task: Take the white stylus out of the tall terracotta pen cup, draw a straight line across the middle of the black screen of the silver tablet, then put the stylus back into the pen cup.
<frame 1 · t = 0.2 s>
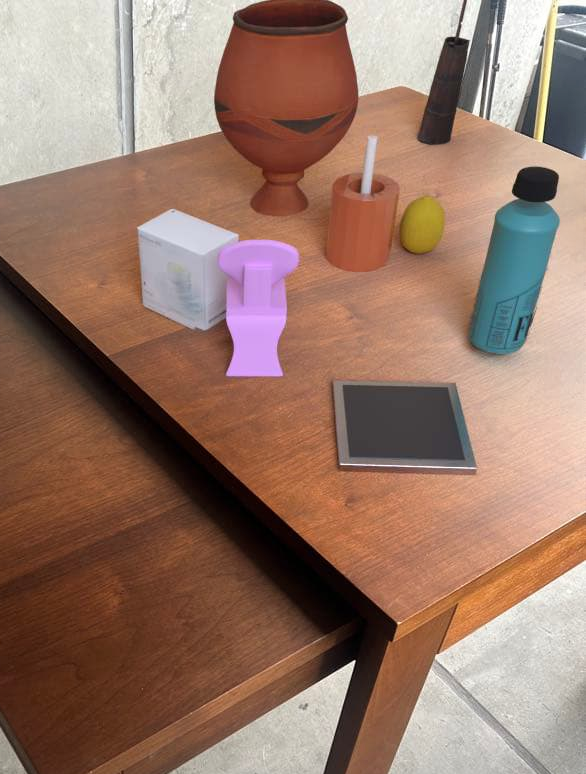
tablet: (399, 428, 88), on the table
goblet: (279, 209, 125), on the table
stylus: (357, 256, 112), point 1 cm above the table, touching pen cup
pen cup: (356, 262, 113), on the table
lemon: (416, 257, 114), on the table
cosmetics box: (189, 313, 105), on the table
butter churn: (432, 142, 141), on the table
toy chair: (253, 355, 98), on the table
beverage bottle: (492, 351, 98), on the table
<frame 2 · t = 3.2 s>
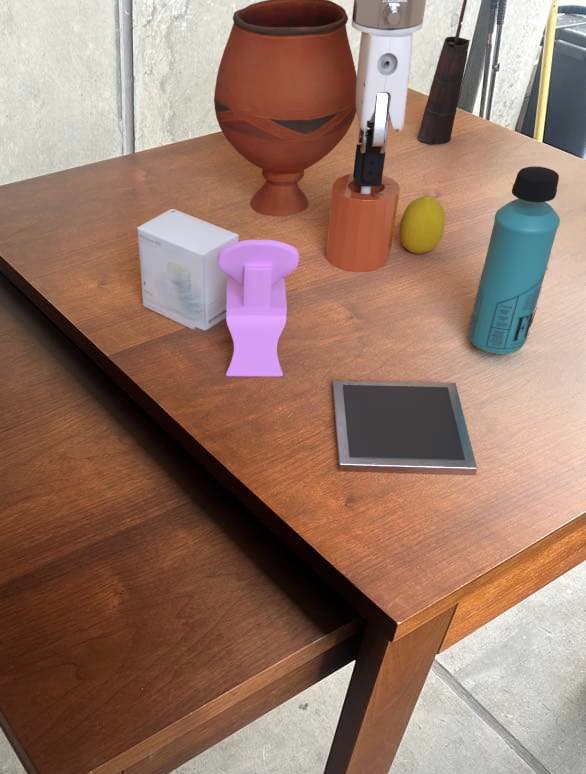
hand: (366, 181, 105), 11 cm above the table, tool pointing down, fingers closed on stylus, 1 cm apart
stylus: (357, 256, 112), point 1 cm above the table, touching gripper, pen cup
everything else where it was.
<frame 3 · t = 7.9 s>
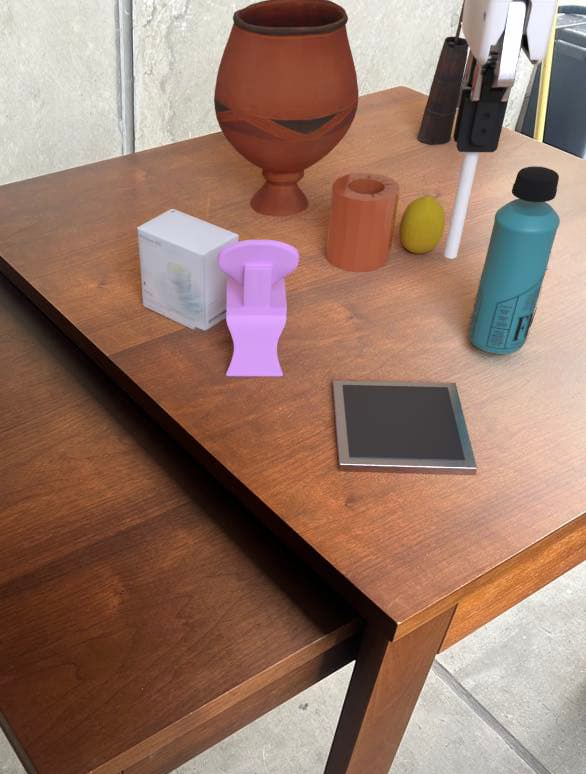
hand: (474, 144, 71), 27 cm above the table, tool pointing down, fingers closed on stylus, 1 cm apart
stylus: (450, 255, 78), point 17 cm above the table, touching gripper
everything else where it was.
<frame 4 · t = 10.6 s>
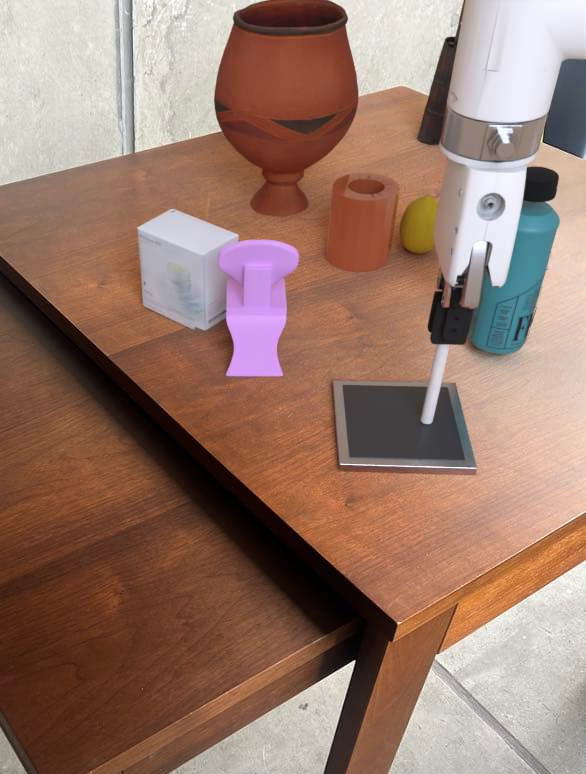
hand: (446, 336, 80), 11 cm above the table, tool pointing down, fingers closed on stylus, 1 cm apart
stylus: (426, 420, 87), point 1 cm above the table, touching gripper
everything else where it was.
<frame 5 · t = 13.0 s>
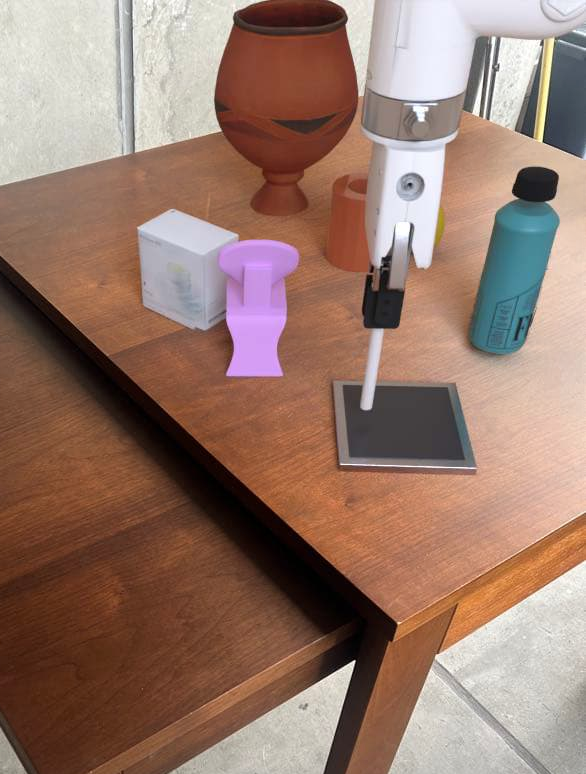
hand: (379, 320, 80), 12 cm above the table, tool pointing down, fingers closed on stylus, 1 cm apart
stylus: (365, 406, 87), point 3 cm above the table, touching gripper
everything else where it was.
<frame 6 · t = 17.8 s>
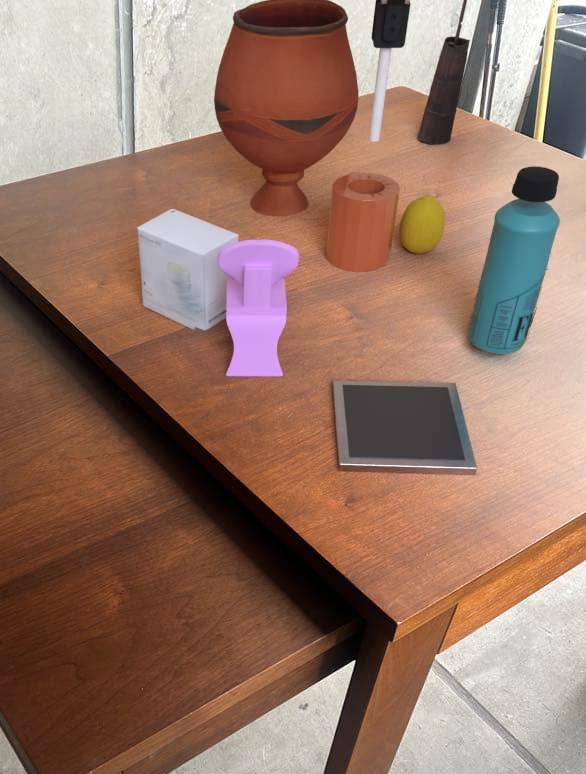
hand: (387, 43, 90), 27 cm above the table, tool pointing down, fingers closed on stylus, 1 cm apart
stylus: (373, 140, 97), point 17 cm above the table, touching gripper
everything else where it was.
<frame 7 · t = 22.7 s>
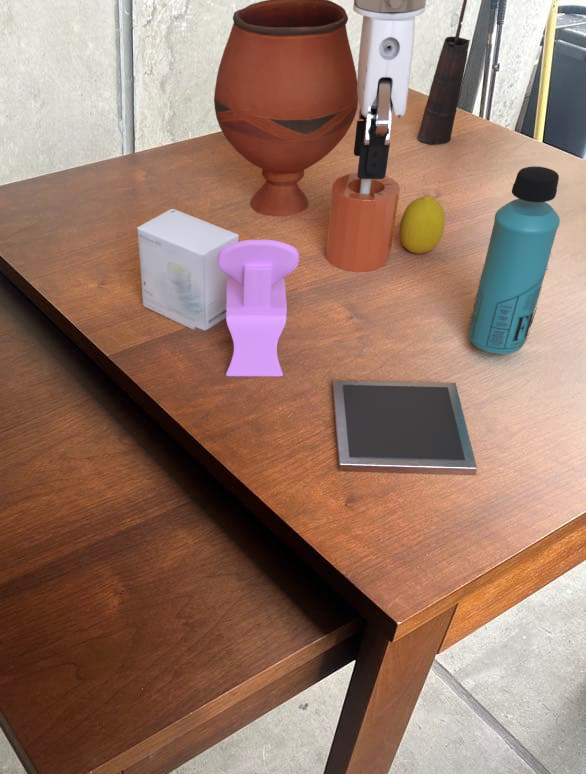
hand: (368, 164, 104), 13 cm above the table, tool pointing down, fingers open, 6 cm apart
stylus: (356, 256, 112), point 1 cm above the table, touching pen cup
everything else where it was.
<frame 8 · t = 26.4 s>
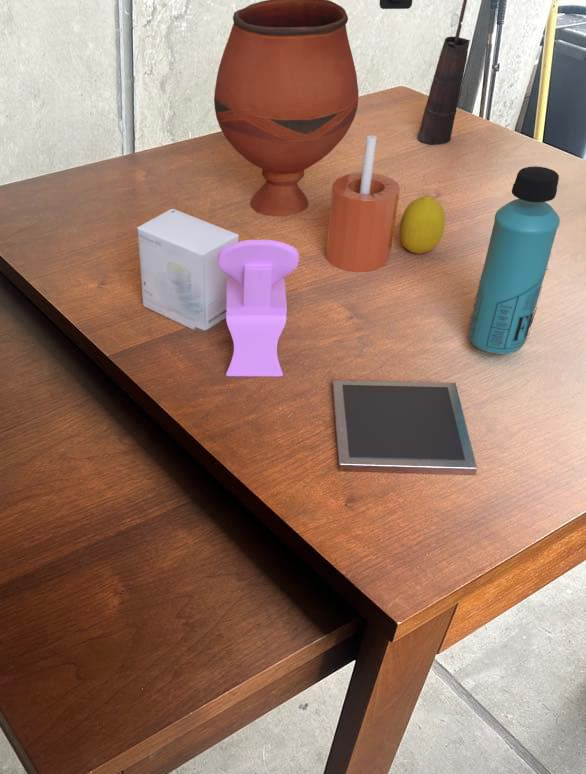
nothing on the table moved.
at the end: stylus 0.1 cm off-centre in the pen cup, point 0.8 cm above the pen cup's base; stylus tilted 0°; stylus touching pen cup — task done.
